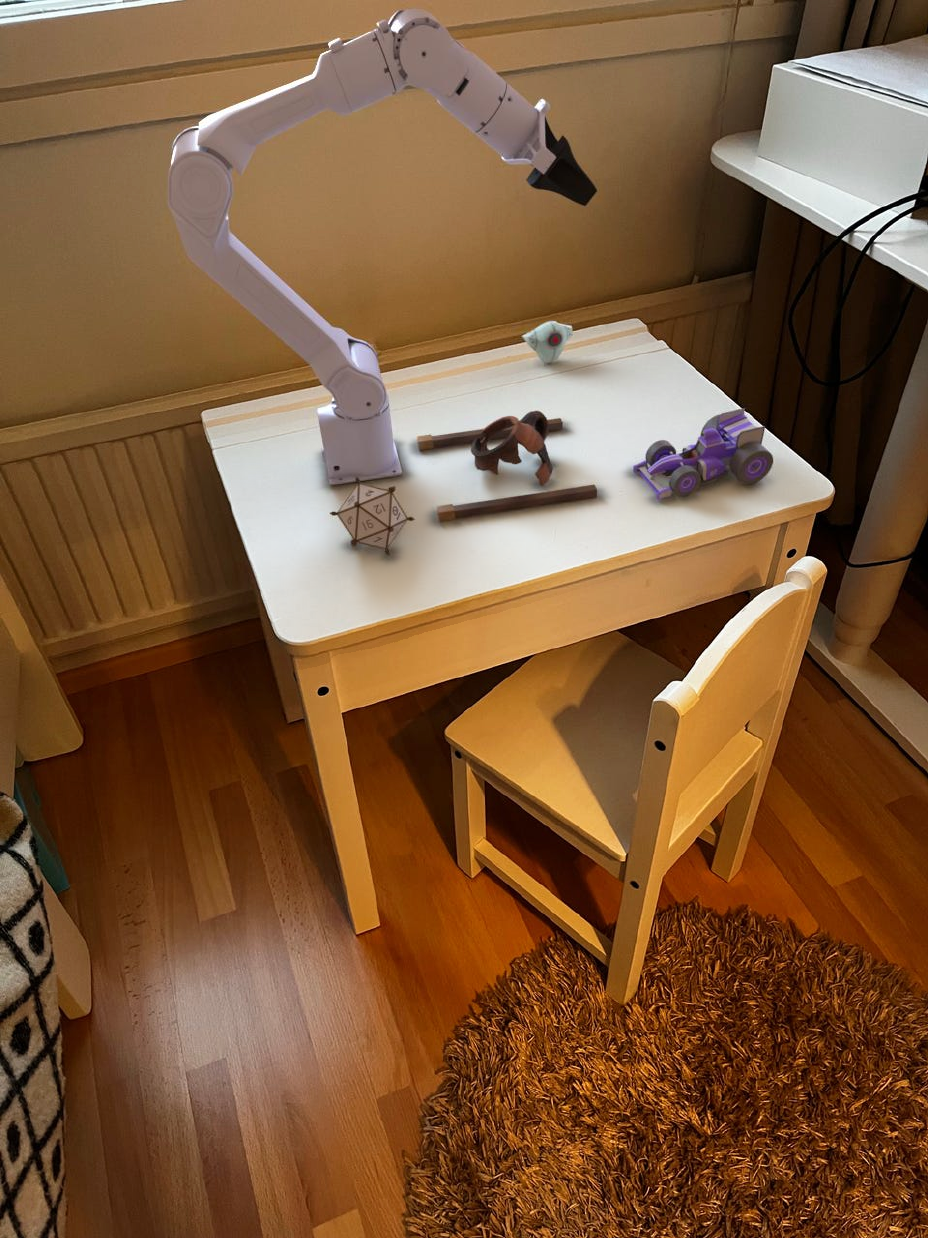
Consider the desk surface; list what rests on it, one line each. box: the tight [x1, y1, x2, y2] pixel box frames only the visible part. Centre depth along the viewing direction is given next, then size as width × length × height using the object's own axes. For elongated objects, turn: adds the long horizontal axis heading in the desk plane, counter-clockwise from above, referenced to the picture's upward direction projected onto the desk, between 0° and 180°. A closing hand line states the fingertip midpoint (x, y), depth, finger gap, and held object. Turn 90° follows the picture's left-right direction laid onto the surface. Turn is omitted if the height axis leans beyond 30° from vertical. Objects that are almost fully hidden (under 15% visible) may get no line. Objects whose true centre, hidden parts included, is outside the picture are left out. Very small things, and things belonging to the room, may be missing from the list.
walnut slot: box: [416, 417, 598, 523], centre depth 118 cm, size 20×18×1 cm
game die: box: [329, 477, 416, 556], centre depth 106 cm, size 9×8×10 cm
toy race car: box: [632, 407, 774, 501], centre depth 114 cm, size 10×15×6 cm, turn 109°
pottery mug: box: [470, 410, 554, 487], centre depth 118 cm, size 12×10×8 cm
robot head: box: [521, 320, 574, 364], centre depth 137 cm, size 8×4×7 cm, turn 109°
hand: (580, 185), depth 102 cm, fingers open, 7 cm apart
